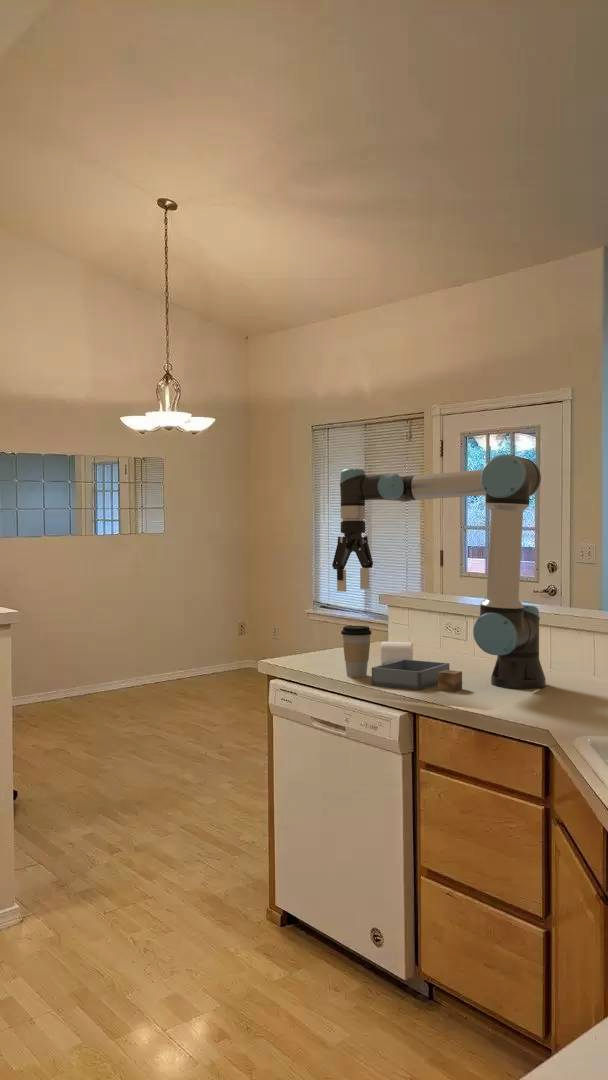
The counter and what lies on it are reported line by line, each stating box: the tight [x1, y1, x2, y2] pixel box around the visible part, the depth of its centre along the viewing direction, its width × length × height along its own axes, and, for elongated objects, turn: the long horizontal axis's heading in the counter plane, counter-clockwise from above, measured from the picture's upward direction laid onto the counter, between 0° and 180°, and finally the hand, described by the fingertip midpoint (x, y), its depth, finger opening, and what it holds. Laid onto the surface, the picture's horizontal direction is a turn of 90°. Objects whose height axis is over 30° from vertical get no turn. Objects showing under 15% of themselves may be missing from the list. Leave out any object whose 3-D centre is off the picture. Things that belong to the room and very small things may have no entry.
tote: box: [371, 659, 450, 691], centre depth 248 cm, size 15×20×5 cm
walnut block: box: [437, 669, 463, 693], centre depth 237 cm, size 5×5×5 cm
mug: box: [380, 641, 414, 665], centre depth 281 cm, size 12×10×8 cm
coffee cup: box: [340, 625, 372, 678], centre depth 259 cm, size 9×9×15 cm
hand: (353, 590), depth 259 cm, fingers open, 13 cm apart
